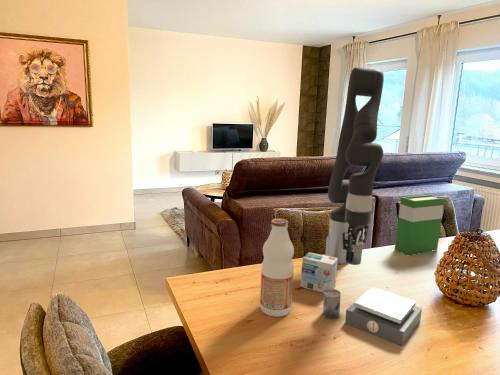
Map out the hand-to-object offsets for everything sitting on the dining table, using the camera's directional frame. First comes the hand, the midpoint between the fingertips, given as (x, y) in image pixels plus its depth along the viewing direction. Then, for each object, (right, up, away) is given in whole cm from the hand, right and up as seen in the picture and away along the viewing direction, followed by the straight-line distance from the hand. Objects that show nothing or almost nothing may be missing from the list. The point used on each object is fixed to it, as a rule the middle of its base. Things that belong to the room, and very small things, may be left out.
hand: (353, 258), depth 119 cm
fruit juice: (-25, -14, -5) cm, 29 cm away
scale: (+6, -16, -10) cm, 20 cm away
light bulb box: (-9, -12, +10) cm, 18 cm away
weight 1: (-9, -15, -7) cm, 19 cm away
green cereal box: (+41, -5, +48) cm, 64 cm away
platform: (+6, -11, -11) cm, 17 cm away
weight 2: (0, -1, 0) cm, 1 cm away
